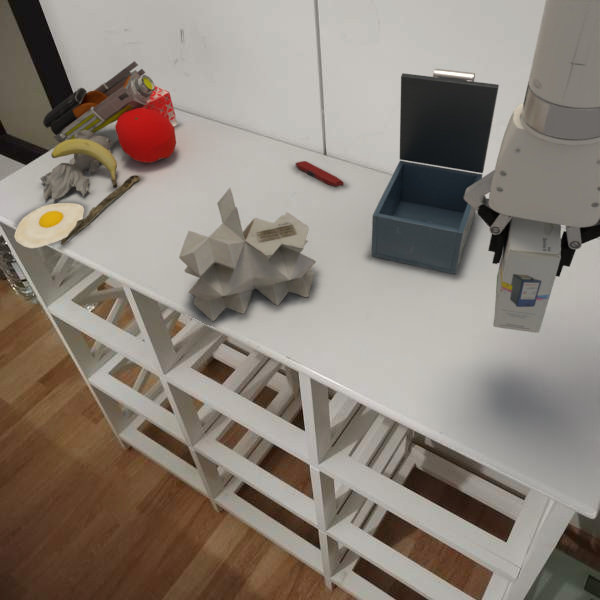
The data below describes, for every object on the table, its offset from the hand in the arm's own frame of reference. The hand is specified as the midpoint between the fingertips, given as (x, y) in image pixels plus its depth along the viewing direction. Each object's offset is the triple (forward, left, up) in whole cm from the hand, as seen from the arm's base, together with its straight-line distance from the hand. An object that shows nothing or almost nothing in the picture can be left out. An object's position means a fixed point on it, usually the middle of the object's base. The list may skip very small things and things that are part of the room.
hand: (527, 260), depth 61 cm
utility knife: (+15, -53, -22) cm, 59 cm away
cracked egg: (+68, -49, -23) cm, 87 cm away
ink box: (0, 0, -7) cm, 7 cm away
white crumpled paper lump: (+30, -19, -18) cm, 40 cm away
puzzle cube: (+52, -82, -19) cm, 99 cm away
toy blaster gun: (+60, -71, -15) cm, 94 cm away
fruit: (+61, -62, -19) cm, 89 cm away
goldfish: (+61, -62, -25) cm, 90 cm away
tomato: (+50, -67, -13) cm, 84 cm away
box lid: (-3, -36, -6) cm, 37 cm away
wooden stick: (+58, -51, -23) cm, 81 cm away
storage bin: (0, -31, -23) cm, 39 cm away
